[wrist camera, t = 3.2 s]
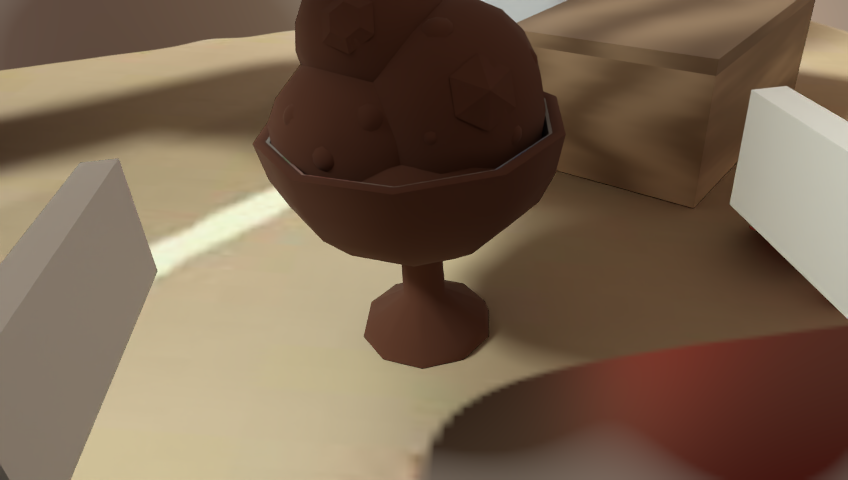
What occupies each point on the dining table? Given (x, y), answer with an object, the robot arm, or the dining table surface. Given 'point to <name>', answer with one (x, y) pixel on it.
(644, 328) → the dining table surface
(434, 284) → the ice cream bowl
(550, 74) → the wooden block
